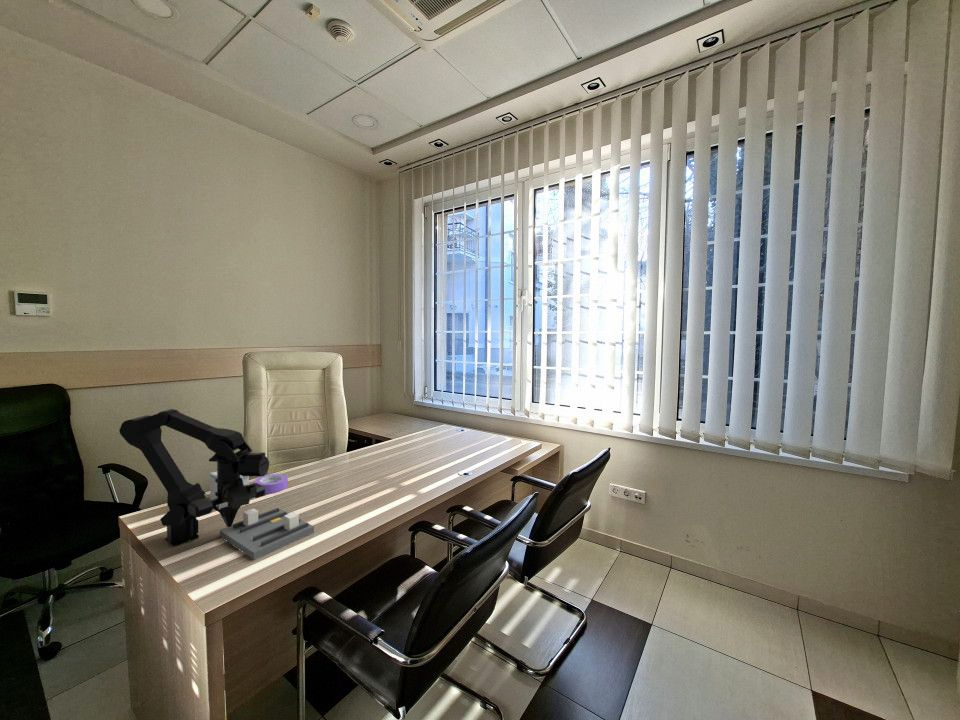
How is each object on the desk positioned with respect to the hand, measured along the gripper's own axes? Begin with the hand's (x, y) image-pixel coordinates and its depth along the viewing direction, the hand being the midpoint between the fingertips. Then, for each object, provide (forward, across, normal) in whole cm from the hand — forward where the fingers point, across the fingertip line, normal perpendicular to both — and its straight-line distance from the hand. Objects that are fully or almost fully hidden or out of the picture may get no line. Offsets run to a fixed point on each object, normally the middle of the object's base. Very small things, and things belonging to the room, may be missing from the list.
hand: (229, 526), depth 113 cm
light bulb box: (+4, +13, +29) cm, 32 cm away
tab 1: (+2, +6, 0) cm, 6 cm away
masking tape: (+4, +27, +27) cm, 39 cm away
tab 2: (+2, +12, -12) cm, 17 cm away
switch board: (+4, +8, -6) cm, 11 cm away
